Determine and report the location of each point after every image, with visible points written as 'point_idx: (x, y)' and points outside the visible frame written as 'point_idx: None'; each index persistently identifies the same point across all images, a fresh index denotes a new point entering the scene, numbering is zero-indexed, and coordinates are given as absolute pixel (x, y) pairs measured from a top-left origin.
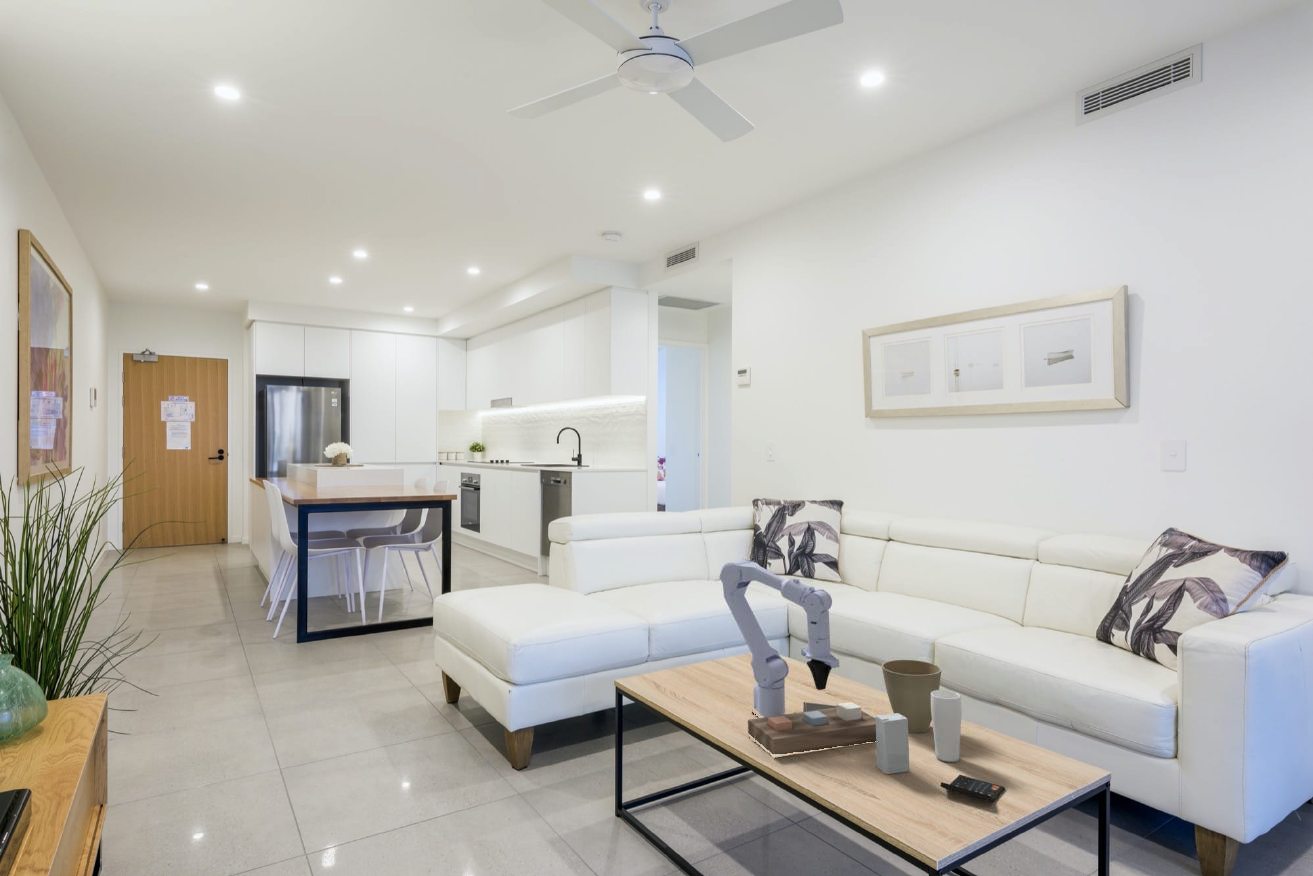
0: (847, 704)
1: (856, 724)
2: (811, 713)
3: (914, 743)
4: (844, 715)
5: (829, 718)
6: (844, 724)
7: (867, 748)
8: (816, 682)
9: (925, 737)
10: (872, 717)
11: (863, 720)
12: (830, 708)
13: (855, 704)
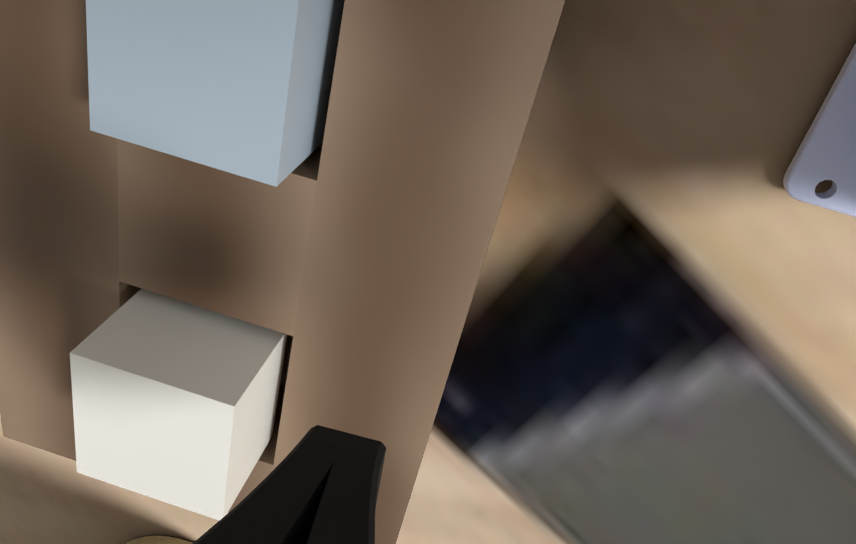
0: (178, 455)
1: (24, 281)
2: (236, 54)
3: None
4: (144, 324)
5: (225, 220)
6: (51, 207)
7: None
8: (301, 494)
9: (64, 526)
10: None
11: None
12: (426, 417)
13: (155, 496)
